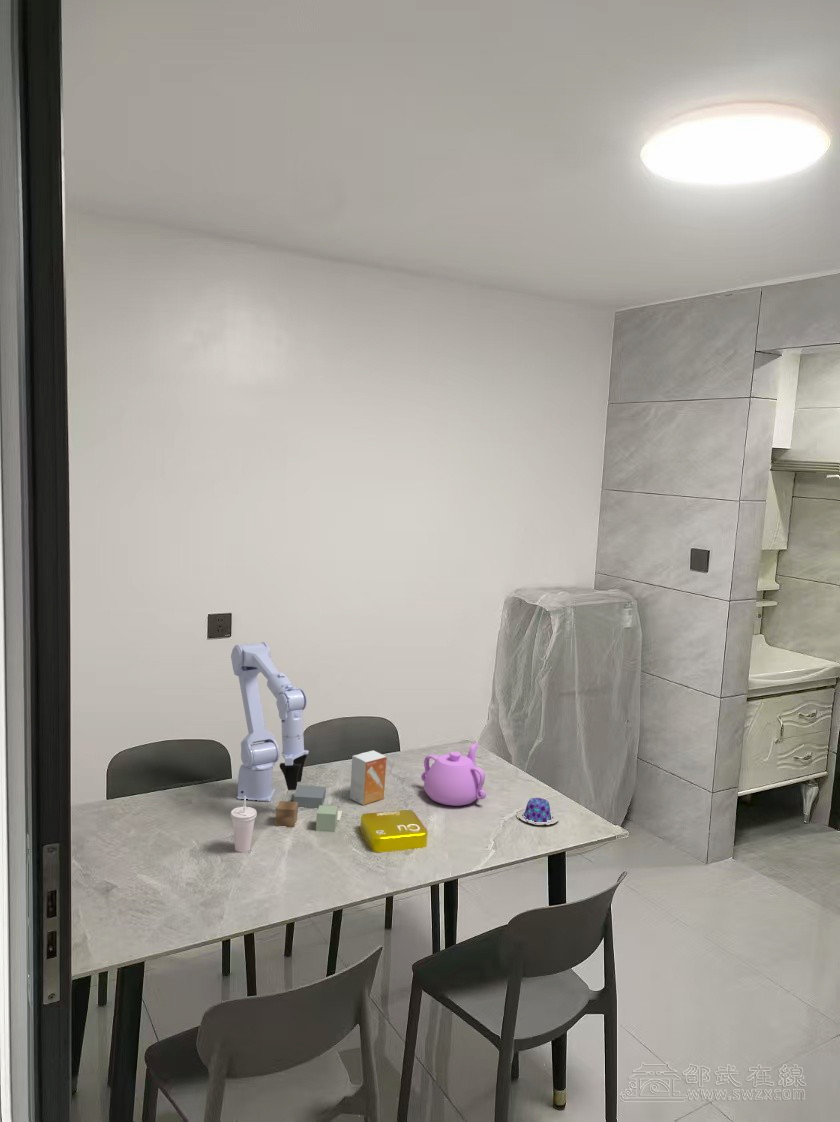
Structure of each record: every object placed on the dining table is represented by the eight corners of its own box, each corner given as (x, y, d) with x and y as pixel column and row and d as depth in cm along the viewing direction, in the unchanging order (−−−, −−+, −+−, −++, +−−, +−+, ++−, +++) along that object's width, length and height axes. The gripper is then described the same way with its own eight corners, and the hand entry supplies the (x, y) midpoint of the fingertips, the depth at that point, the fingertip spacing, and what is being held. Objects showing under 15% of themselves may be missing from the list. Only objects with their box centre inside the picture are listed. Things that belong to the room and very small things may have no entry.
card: (317, 819, 228) (317, 818, 228) (321, 810, 234) (321, 809, 234) (339, 821, 228) (339, 819, 228) (342, 811, 234) (342, 810, 234)
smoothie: (233, 856, 205) (234, 802, 203) (226, 845, 211) (228, 792, 209) (258, 852, 208) (260, 798, 206) (251, 840, 214) (253, 788, 212)
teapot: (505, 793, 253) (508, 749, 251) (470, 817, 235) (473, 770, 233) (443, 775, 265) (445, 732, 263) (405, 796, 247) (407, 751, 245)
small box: (363, 805, 239) (365, 762, 237) (349, 798, 243) (351, 755, 241) (384, 798, 244) (387, 756, 242) (370, 791, 249) (372, 749, 247)
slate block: (293, 808, 235) (293, 796, 235) (297, 796, 243) (298, 785, 243) (321, 810, 235) (322, 798, 235) (325, 798, 243) (325, 786, 243)
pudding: (512, 823, 234) (514, 805, 233) (520, 806, 245) (521, 789, 244) (555, 831, 230) (557, 813, 230) (561, 814, 242) (562, 796, 241)
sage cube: (315, 831, 222) (316, 813, 221) (318, 822, 227) (319, 805, 226) (334, 832, 221) (335, 814, 221) (337, 824, 226) (337, 806, 226)
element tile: (411, 823, 230) (412, 807, 229) (429, 849, 216) (430, 831, 215) (358, 828, 225) (359, 811, 225) (372, 854, 211) (373, 836, 211)
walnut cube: (275, 826, 223) (275, 808, 222) (279, 818, 228) (279, 800, 227) (293, 827, 223) (294, 810, 222) (297, 819, 228) (298, 802, 227)
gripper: (303, 740, 217) (305, 792, 217) (311, 728, 232) (313, 777, 232) (276, 741, 217) (278, 793, 217) (286, 729, 232) (288, 778, 232)
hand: (294, 785), depth 225 cm, fingers open, 7 cm apart
